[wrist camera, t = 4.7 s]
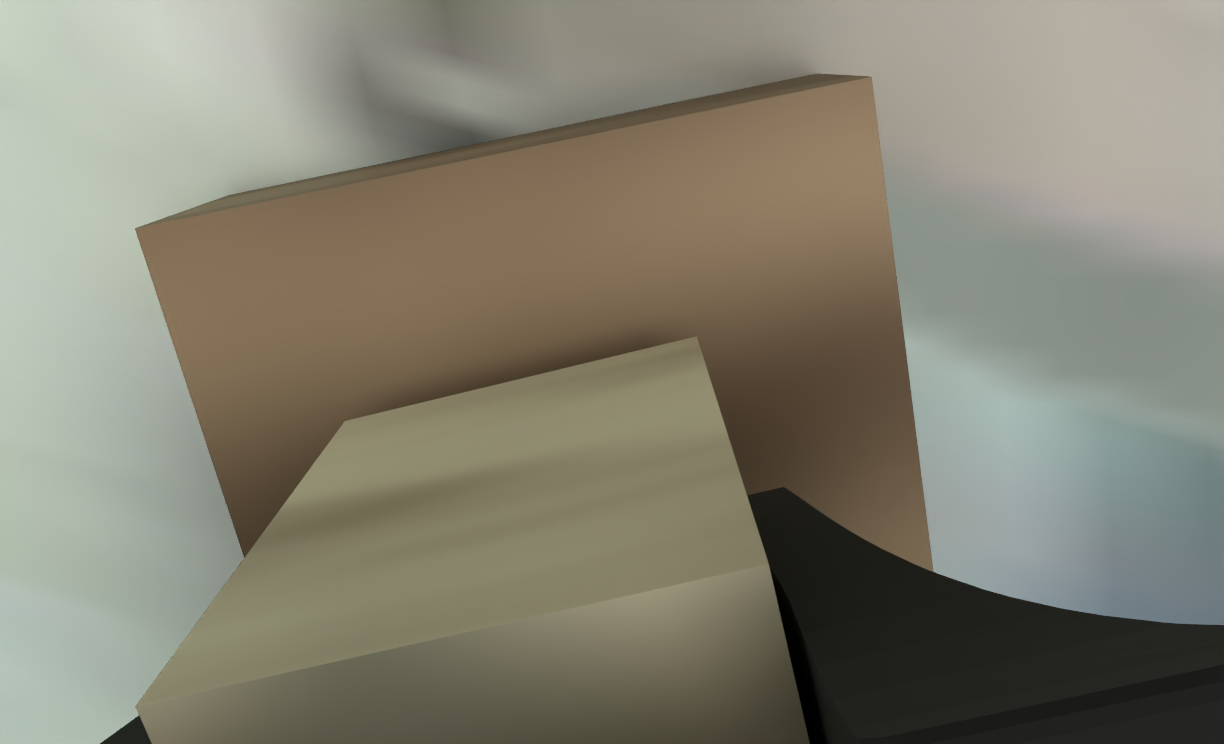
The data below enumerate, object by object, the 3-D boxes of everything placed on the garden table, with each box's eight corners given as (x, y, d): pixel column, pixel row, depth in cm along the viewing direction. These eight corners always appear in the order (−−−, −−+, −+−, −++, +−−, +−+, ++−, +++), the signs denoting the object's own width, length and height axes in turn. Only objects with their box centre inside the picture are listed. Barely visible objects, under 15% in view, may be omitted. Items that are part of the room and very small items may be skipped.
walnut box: (886, 600, 20) (952, 726, 16) (386, 690, 21) (336, 833, 17) (813, 73, 17) (871, 76, 14) (235, 193, 18) (135, 228, 14)
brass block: (770, 652, 14) (882, 1066, 8) (447, 722, 14) (339, 1168, 9) (696, 335, 13) (769, 565, 7) (345, 420, 13) (134, 706, 7)
